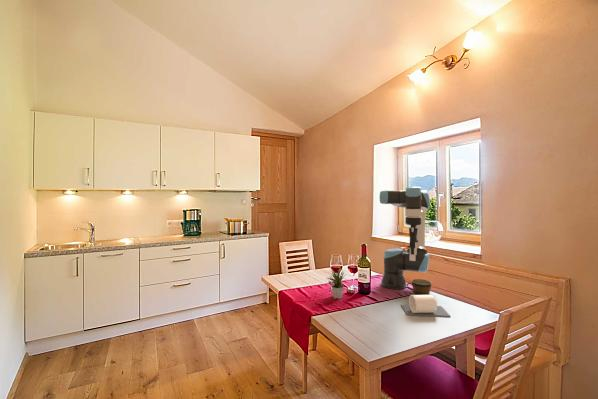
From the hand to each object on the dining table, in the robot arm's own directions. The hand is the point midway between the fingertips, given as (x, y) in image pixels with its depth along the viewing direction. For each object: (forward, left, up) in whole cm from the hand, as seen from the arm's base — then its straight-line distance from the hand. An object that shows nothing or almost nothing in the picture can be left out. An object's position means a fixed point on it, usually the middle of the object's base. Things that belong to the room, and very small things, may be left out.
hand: (413, 257), depth 147 cm
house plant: (+33, -23, -26) cm, 48 cm away
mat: (-2, +7, -26) cm, 26 cm away
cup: (-4, +9, -22) cm, 24 cm away
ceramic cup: (-9, -7, -26) cm, 28 cm away
